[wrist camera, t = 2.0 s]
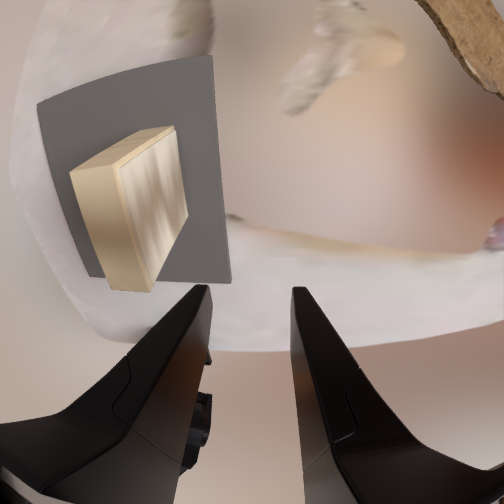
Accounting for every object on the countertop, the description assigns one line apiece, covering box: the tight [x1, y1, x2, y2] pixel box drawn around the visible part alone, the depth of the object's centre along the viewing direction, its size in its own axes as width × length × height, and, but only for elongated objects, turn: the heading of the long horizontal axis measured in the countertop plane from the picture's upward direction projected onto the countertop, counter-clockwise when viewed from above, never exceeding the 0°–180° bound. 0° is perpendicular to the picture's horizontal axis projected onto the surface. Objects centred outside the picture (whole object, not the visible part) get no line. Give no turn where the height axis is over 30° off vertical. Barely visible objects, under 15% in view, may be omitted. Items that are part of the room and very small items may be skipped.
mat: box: [37, 55, 232, 284], centre depth 20 cm, size 18×15×1 cm
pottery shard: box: [415, 0, 504, 100], centre depth 9 cm, size 8×3×15 cm
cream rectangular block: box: [69, 125, 188, 293], centre depth 15 cm, size 7×3×8 cm, turn 2°
